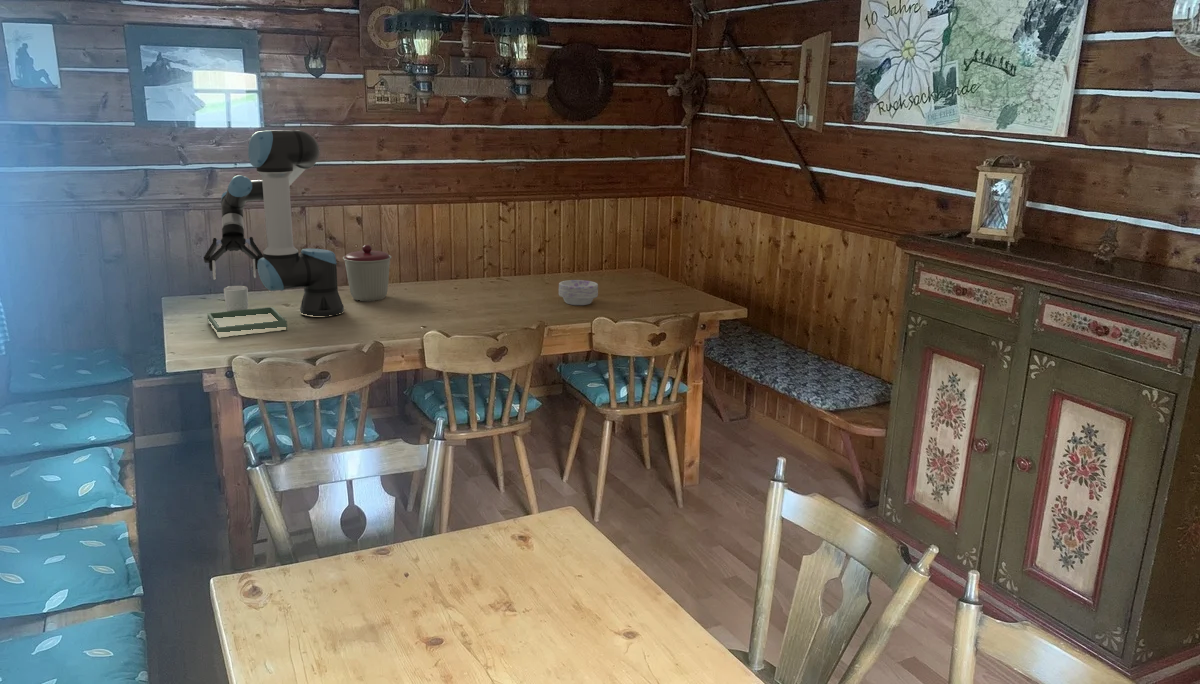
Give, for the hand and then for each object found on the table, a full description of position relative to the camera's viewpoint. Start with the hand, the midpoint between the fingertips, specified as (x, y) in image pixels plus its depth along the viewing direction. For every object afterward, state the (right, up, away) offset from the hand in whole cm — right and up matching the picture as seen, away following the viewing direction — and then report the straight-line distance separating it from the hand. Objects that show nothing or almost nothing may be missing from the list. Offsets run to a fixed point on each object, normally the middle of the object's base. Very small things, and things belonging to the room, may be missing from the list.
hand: (234, 276), depth 330 cm
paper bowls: (+123, -9, +26) cm, 126 cm away
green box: (+12, -18, -18) cm, 28 cm away
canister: (+42, -7, +25) cm, 49 cm away
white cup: (+3, -14, -4) cm, 15 cm away
